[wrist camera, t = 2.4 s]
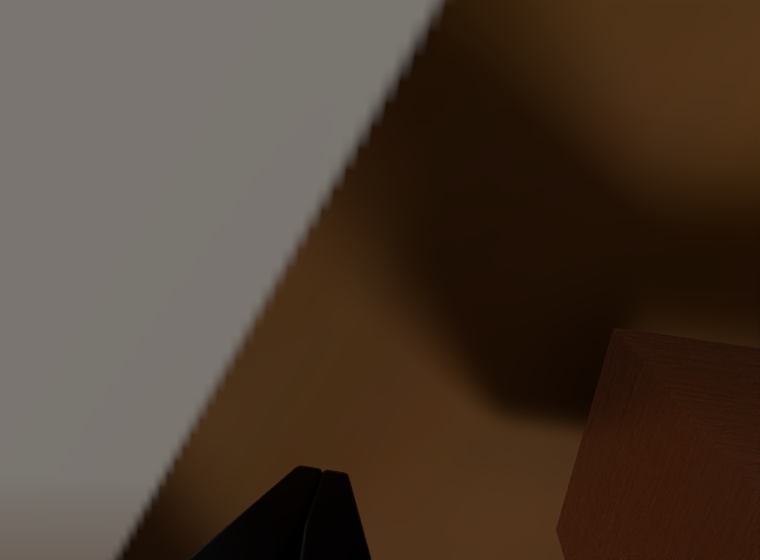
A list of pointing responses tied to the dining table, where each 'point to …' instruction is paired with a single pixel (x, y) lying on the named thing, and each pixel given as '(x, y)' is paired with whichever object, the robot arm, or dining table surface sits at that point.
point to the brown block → (668, 454)
